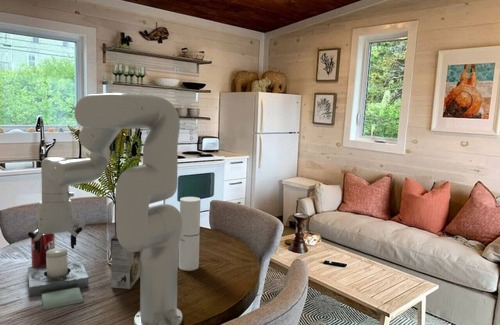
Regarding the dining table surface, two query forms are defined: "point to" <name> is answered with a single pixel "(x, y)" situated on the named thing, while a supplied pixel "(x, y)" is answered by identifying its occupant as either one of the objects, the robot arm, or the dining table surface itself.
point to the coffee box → (123, 266)
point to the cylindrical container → (189, 233)
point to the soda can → (42, 248)
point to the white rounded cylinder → (57, 262)
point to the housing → (56, 279)
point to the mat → (61, 298)
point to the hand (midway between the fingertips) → (55, 249)
